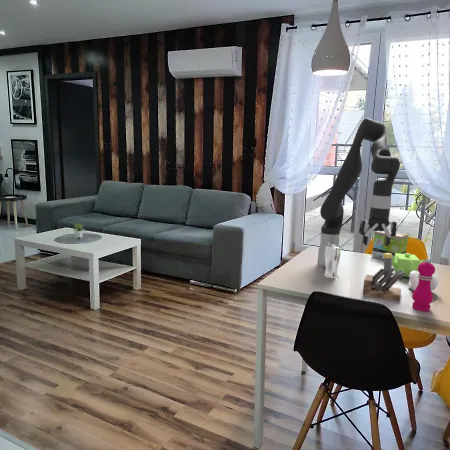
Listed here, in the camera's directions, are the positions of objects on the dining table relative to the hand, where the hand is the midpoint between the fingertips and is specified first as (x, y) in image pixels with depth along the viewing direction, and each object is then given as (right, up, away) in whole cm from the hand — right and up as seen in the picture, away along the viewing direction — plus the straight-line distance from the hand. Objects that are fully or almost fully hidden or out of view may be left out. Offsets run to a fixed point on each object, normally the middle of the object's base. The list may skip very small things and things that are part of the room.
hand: (375, 245), depth 172 cm
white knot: (+22, -20, +10) cm, 32 cm away
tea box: (+29, -10, +60) cm, 67 cm away
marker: (+5, -15, +1) cm, 16 cm away
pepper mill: (+14, -24, -10) cm, 30 cm away
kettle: (+24, -16, +30) cm, 42 cm away
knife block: (+4, -21, +3) cm, 21 cm away
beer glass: (-12, -16, +25) cm, 32 cm away
